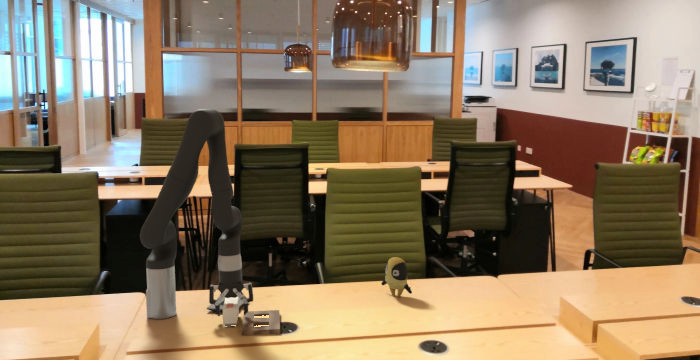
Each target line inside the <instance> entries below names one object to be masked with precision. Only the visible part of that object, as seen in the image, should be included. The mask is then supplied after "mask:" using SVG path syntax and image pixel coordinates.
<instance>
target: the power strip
mask: <svg viewBox="0 0 700 360" xmlns="http://www.w3.org/2000/svg"><path fill="white" fill-rule="evenodd" d="M239 309H240V307H239V297H238V296H237V297H236V298H232V297H230V298H226V297H225V301H224V306H223V311H222V324H223V325H224V327H225V326H231V325H236V326H237V324H238V318H239V313H240V310H239Z"/></svg>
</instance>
